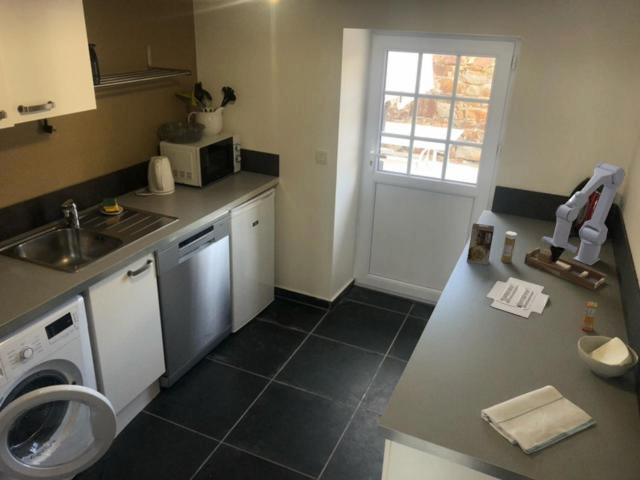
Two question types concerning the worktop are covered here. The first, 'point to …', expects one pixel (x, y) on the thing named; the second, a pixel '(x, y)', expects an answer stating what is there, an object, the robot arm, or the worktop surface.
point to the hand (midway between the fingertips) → (554, 261)
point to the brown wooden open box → (567, 270)
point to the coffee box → (480, 243)
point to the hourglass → (589, 316)
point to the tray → (518, 297)
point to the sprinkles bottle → (508, 246)
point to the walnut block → (545, 256)
